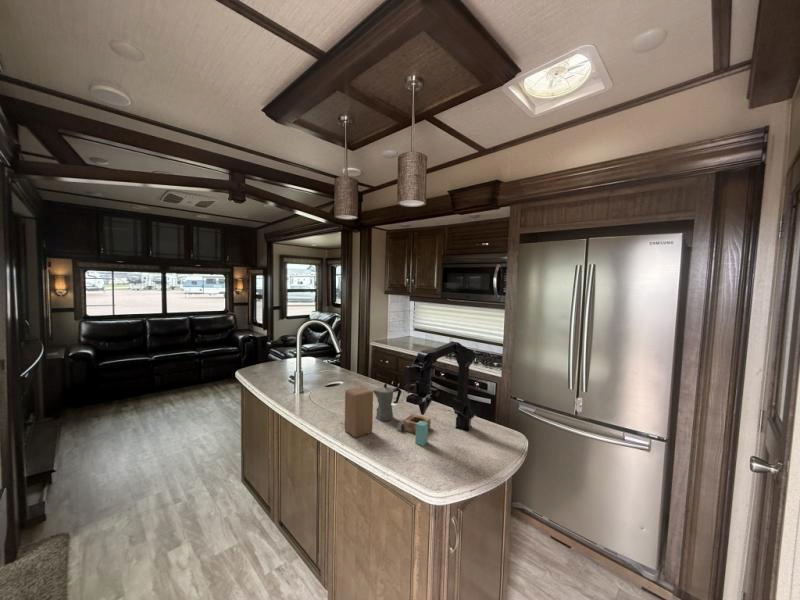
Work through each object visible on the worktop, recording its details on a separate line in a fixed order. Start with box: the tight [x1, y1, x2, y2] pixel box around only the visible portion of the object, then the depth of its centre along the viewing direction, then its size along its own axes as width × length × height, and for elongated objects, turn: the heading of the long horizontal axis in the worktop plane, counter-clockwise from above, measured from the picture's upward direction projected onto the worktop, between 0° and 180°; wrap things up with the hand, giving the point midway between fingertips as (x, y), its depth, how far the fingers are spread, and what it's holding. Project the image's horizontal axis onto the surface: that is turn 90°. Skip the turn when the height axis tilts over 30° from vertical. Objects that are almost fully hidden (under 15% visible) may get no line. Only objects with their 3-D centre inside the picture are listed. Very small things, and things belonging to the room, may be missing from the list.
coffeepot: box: [372, 383, 402, 422], centre depth 167 cm, size 15×9×18 cm, turn 107°
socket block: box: [403, 414, 432, 435], centre depth 154 cm, size 10×10×4 cm
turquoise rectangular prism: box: [414, 421, 429, 447], centre depth 140 cm, size 4×4×9 cm
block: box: [344, 385, 374, 438], centre depth 150 cm, size 10×10×20 cm
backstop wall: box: [397, 414, 413, 433], centre depth 157 cm, size 2×14×4 cm, turn 149°
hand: (422, 414), depth 141 cm, fingers closed
